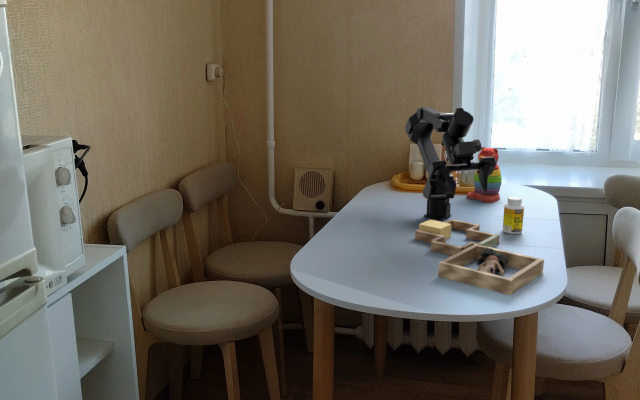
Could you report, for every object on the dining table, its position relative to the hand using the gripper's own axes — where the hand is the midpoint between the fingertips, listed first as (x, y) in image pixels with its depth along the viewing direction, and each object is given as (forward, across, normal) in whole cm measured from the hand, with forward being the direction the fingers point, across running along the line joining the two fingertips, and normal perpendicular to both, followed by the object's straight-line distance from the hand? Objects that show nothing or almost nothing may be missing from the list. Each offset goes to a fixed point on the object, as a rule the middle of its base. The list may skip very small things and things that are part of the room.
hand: (470, 192), depth 187 cm
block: (+6, -9, +13) cm, 17 cm away
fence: (+29, -5, -8) cm, 31 cm away
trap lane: (+10, -4, +9) cm, 14 cm away
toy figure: (+30, -5, -8) cm, 31 cm away
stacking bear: (-22, +23, +39) cm, 51 cm away
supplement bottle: (+6, +15, +14) cm, 21 cm away
